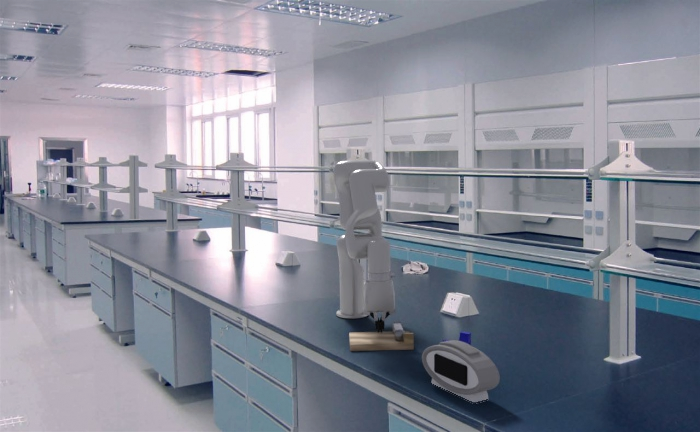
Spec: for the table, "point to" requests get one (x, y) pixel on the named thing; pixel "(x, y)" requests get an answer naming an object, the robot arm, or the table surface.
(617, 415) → the table surface
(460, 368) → the alarm clock
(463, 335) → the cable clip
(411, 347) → the stool seat
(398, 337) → the folding leg
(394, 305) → the robot arm
